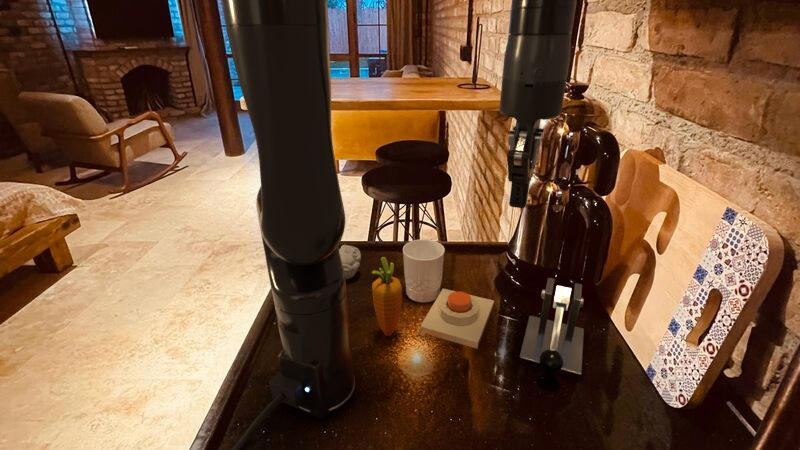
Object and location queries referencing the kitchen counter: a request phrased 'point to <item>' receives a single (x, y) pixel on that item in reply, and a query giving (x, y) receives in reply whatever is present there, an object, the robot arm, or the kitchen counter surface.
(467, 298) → the button
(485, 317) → the control block
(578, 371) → the bracket
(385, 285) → the carrot
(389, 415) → the kitchen counter surface
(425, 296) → the white cup
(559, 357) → the lever
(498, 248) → the kitchen counter surface
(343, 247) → the frog figurine
